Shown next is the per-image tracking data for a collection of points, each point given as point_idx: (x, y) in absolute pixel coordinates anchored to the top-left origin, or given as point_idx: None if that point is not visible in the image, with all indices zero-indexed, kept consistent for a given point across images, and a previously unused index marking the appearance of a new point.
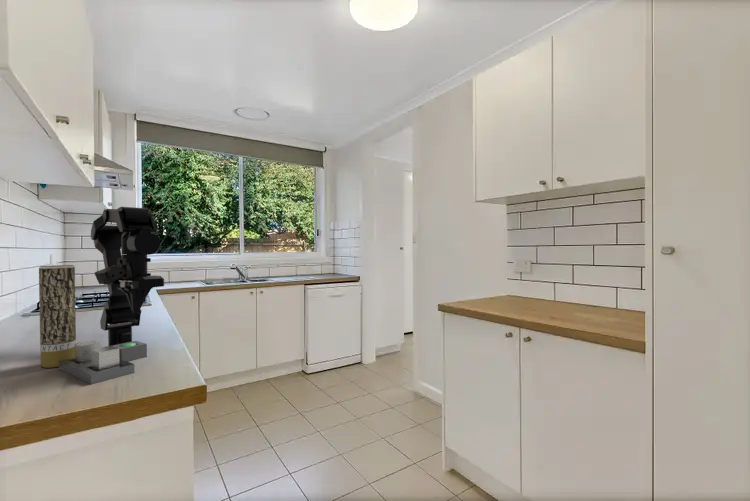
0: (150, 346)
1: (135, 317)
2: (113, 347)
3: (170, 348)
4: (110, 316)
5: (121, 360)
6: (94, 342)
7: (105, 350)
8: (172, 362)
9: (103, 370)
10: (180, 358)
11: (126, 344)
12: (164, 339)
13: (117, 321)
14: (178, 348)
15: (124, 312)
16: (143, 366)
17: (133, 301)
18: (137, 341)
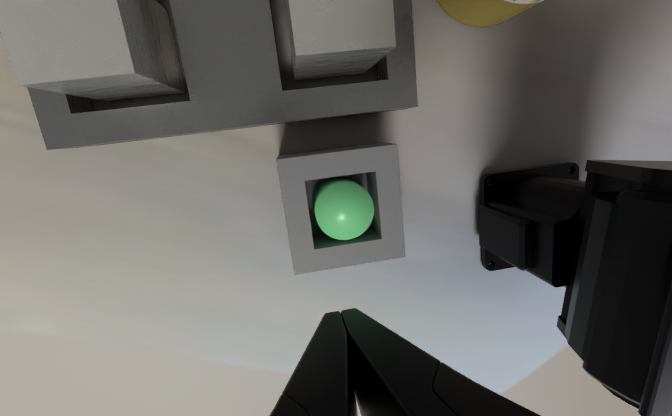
0: (451, 306)
1: (567, 335)
2: (69, 67)
3: None
4: (624, 191)
5: (168, 128)
6: (325, 30)
7: (13, 6)
8: (117, 296)
9: None
10: (156, 334)
11: (350, 201)
12: (516, 372)
13: (584, 228)
14: None
15: (620, 293)
16: (147, 200)
17: (280, 401)
18: (383, 257)
